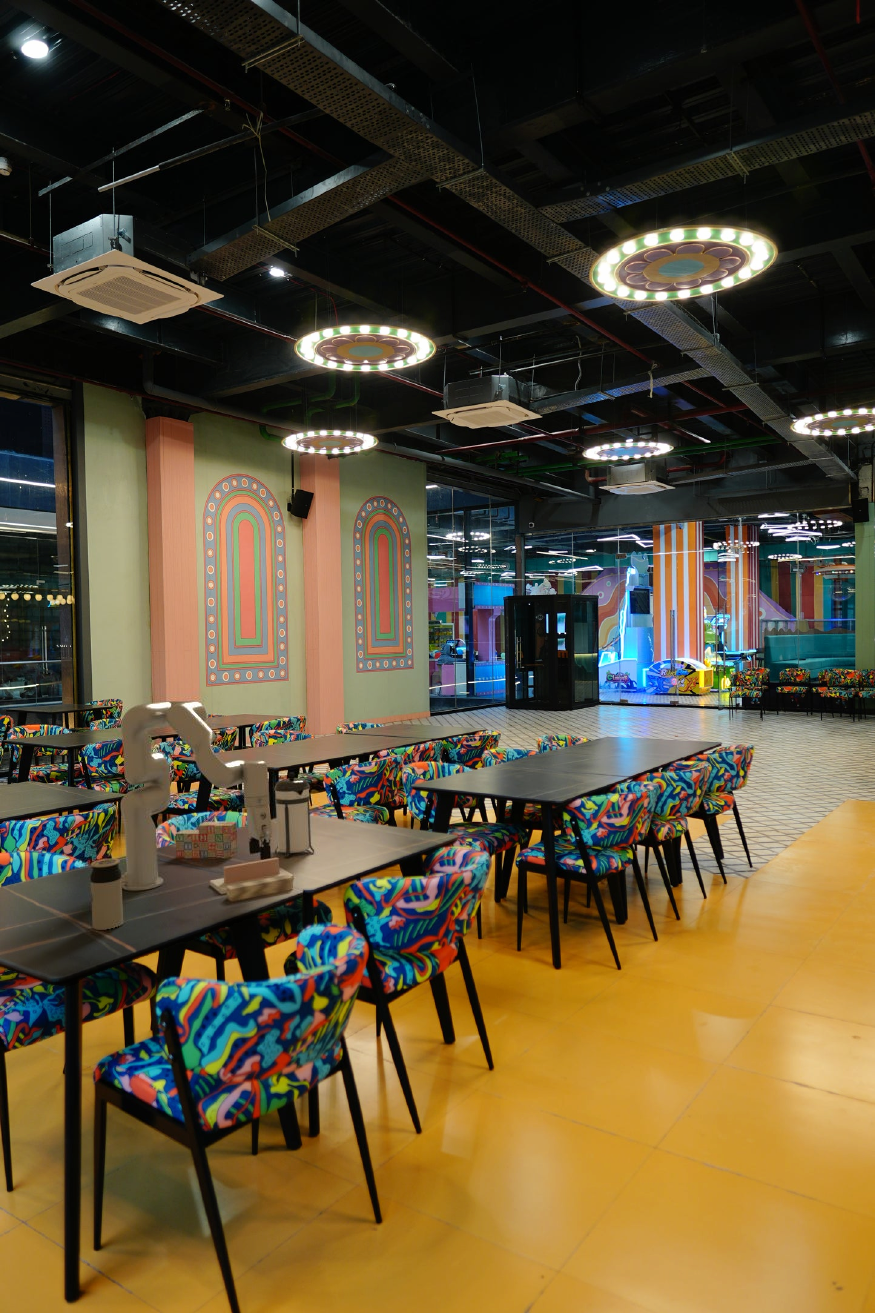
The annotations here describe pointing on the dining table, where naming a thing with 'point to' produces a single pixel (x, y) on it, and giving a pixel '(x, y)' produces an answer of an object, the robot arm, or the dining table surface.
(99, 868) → the travel mug
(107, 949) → the dining table surface
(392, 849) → the dining table surface
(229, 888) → the oak bar
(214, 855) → the stack of blocks
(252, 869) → the stand
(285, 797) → the coffee press
